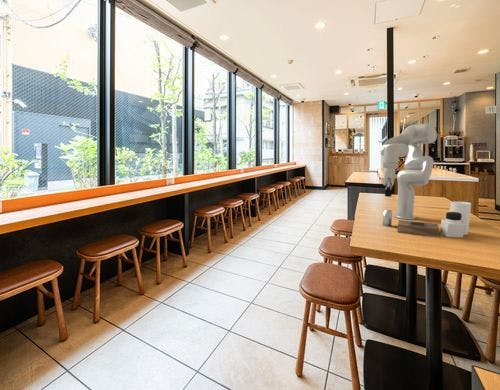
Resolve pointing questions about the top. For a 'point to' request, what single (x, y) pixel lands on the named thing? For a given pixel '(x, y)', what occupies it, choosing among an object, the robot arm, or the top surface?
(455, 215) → the medicine bottle
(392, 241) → the top surface
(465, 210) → the cup
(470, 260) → the top surface
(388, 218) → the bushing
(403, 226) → the block
